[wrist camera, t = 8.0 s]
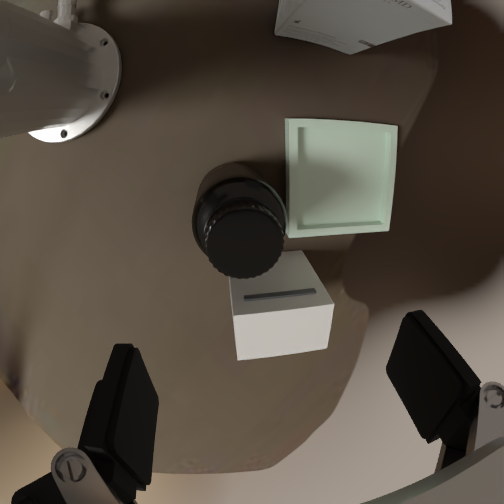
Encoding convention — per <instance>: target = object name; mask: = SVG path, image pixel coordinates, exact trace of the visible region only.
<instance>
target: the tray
mask: <svg viewBox="0 0 504 504" xmlns="http://www.w3.org/2000/svg"><path fill="white" fill-rule="evenodd" d="M397 131H398V126H394V125H386V124H377V123H367V122H356V121H343V120H326V119H287V118H285V145H286V215H287V227H286V234H287V235H288V237H289V238H296V237H309V236H323V235H336V234H350V233H364V232H379V231H389V226H390V218H391V210H392V202H393V192H394V181H395V170H396V155H397Z"/></svg>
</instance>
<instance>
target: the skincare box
mask: <svg viewBox="0 0 504 504" xmlns="http://www.w3.org/2000/svg"><path fill="white" fill-rule="evenodd" d="M451 24H452V9H451V0H279V6H278V12H277V19H276V25H275V32H274V33H275V35H276V36H283V37H290V38H295V39H300V40H304V41H309V42H312V43H316V44H320V45H323V46H326V47H329V48H332V49H335V50H338V51H340V52H343V53H346V54H349V55H352V54H354V53H357V52H360V51H363V50H365V49H368V48H371V47H374V46H377V45H379V44H382V43H385V42H388V41H391V40H394V39H398V38H401V37H404V36H408V35H411V34H414V33H417V32H421V31H425V30H430V29H433V28H437V27H442V26H446V25H451Z"/></svg>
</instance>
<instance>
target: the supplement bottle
mask: <svg viewBox="0 0 504 504" xmlns="http://www.w3.org/2000/svg"><path fill="white" fill-rule="evenodd" d="M286 227H287V215H286V210H285V207H284V204H283V202H282V200H281V198H280V197H279V195H278V194H277V192H276V191H275V190H274V189H273V188H272V186H271V185H270V184H269V183H268V182H267V181H266V180H265V179H264V177H263V176H262V175H261V174H260V173H259V172H258V171H256V170H255V169H254V168H252V167H250V166H248V165H245V164H242V163H226V164H222V165H219V166H217V167H215V168H214V169H212V170H211V171H210V172H209V173H208V174H207V175H206V176H205V177H204V179H203V180H202V182H201V184H200V186H199V189H198V193H197V197H196V201H195V205H194V210H193V215H192V230H193V235H194V238H195V240H196V242H197V244H198V246H199V247H200V249H201V250H202V251H203V253H204V254H205V255H206V256H208V257H209V261H210V262H211V263H212V264H213V266H214V267H215V268H217V269H218V271H219V272H221V273H223V274H224V275H225V276H230V277H231V278H237V279H249V278H255V277H256V276H261V275H262V274H263V273H266V272H268V271H269V269H270V268H272V267H273V266H274V264H275V263H277V262H278V259H279V257H280V256H281V252H282V250H283V244H284V235H285V232H286Z"/></svg>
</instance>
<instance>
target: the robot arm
mask: <svg viewBox="0 0 504 504" xmlns="http://www.w3.org/2000/svg"><path fill="white" fill-rule="evenodd" d="M76 4H77V0H59V2H58V9H57V10H58V17H57V19H55V21H54V22H53V21H52V12H53V11H52V10H45V11H42V12H41V13H40V15H38V14H36V13H34V12H31V11H29V10H27V9H24V8H22V7H19V6H17V5H15V4H12V3H10V2H7V1H4V0H0V138H3V137H7V136H12V135H17V134H22V133H27V132H28V133H29V134H30V135H32V136H33V137H34V138H36V139H38V140H40V141H43V142H48V143H60V142H66V141H70V140H73V139H75V138H77V137H80V136H82V135H83V134H85V133H86V132H88V131H89V130H91V129H92V128H93V127H94V126H95V125H96V124H97V123H98V122H99V121H100V120H101V119H102V118H103V116H104V115H105V114H106V113H107V111H108V109H109V108H110V106H111V104H112V103H113V101H114V99H115V96H116V94H117V91H118V89H119V84H120V80H121V73H122V61H121V54H120V51H119V48H118V45H117V44H116V42H115V41H114V39H113V37H112V36H110V35H109V34H108V33H107V32H106V31H105V30H103V29H102V28H100V27H98V26H95V25H93V24H89V23H78V17H77V16H76V15H75V8H76ZM107 42H108V44H107V45H106V46H105V44H106V43H107ZM108 93H109V97H108V98H106V94H108ZM66 132H68V134H66ZM386 372H387V375H388V377H389V379H390V380H391V382H392V384H393V386H394V387H395V389H396V391H397V393H398V395H399V396H400V398H401V400H402V402H403V404H404V405H405V407H406V409H407V411H408V413H409V415H410V416H411V419H412V420H413V422H414V424H415V426H416V428H417V430H418V432H419V434H420V435H421V437H422V438H424V439H426V441H427V443H428V444H429V443H431V442H433V441H435V440H437V439H439V438H441V440H442V446H441V450H440V454H439V458H438V462H437V466H436V469H435V473H434V474H432V475H430V476H428V477H426V478H424V479H422V480H420V481H418V482H415V483H413V484H411V485H409V486H406V487H404V488H402V489H399V490H397V491H394V492H392V493H389V494H387V495H384V496H382V497H379V498H376V499H373V500H370V501H368V502H365V503H362V504H504V386H503V385H501V384H500V383H497V382H488V383H486V384H484V385H483V387H482V388H481V387H480V386H479V385H480V383H481V381H480V379H479V378H478V377H477V376H476V374H475V373H474V372H473V371H472V369H471V368H470V367H469V365H468V364H467V363H466V361H465V360H464V359H463V358H462V356H461V355H460V354H459V353H458V351H457V350H456V349H455V348H454V347H453V345H452V344H451V343H450V342H449V340H448V339H447V338H446V337H445V336H444V334H443V333H442V332H441V331H440V330H439V329H438V327H437V326H436V325H435V324H434V323H433V322H432V320H431V319H430V318H429V317H428V316H427V315H426V314H425V312H423V311H422V310H417V311H413V312H408V313H407V314H406V316H405V317H404V318H403V320H402V322H401V326H400V329H399V332H398V335H397V338H396V341H395V344H394V347H393V350H392V352H391V355H390V358H389V360H388V363H387V366H386ZM158 406H159V400H158V395H157V393H156V391H155V388H154V386H153V384H152V381H151V379H150V377H149V374H148V372H147V369H146V367H145V364H144V362H143V359H142V357H141V354H140V351H139V349H138V348H134V346H133V345H132V344H115V345H114V347H113V350H112V353H111V356H110V358H109V361H108V364H107V367H106V370H105V373H104V377H103V380H99V381H98V382H97V384H96V386H95V389H94V392H93V395H92V398H91V401H90V405H89V408H88V411H87V415H86V418H85V422H84V425H83V429H82V433H81V436H80V440H79V444H78V448H77V449H76V448H65V449H62V450H60V451H59V452H58V453H57V454H56V455H55V456H54V458H53V460H52V463H51V472H50V473H48V474H46V475H44V476H43V477H41V478H39V479H37V480H36V481H34V482H32V483H30V484H28V485H26V486H25V487H23V488H21V489H19V490H18V491H16V492H15V493H14V495H13V497H12V501H11V504H137V502H136V501H135V500H134V499H136V490H140V491H146V485H150V483H151V476H152V463H153V452H154V441H155V432H156V423H157V414H158Z"/></svg>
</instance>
